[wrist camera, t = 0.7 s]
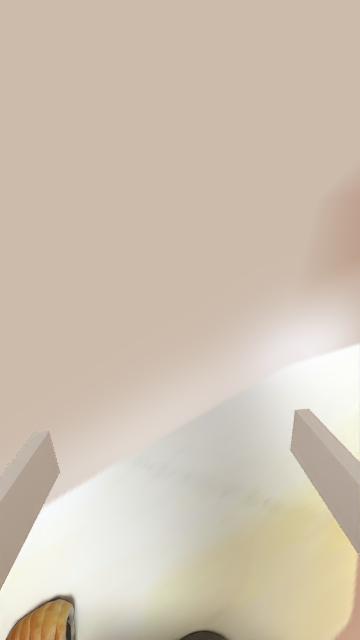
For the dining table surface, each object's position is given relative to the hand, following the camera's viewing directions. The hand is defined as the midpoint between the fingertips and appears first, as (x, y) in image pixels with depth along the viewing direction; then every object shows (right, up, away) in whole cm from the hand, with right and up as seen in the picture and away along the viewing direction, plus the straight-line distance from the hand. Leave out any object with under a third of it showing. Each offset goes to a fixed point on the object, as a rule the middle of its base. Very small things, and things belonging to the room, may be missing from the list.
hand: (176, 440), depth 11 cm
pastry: (-20, -40, +21) cm, 49 cm away
